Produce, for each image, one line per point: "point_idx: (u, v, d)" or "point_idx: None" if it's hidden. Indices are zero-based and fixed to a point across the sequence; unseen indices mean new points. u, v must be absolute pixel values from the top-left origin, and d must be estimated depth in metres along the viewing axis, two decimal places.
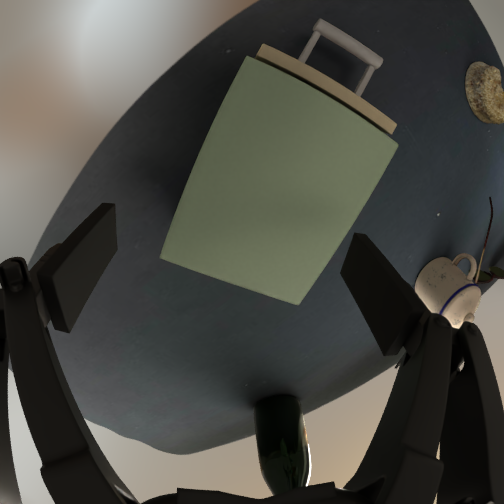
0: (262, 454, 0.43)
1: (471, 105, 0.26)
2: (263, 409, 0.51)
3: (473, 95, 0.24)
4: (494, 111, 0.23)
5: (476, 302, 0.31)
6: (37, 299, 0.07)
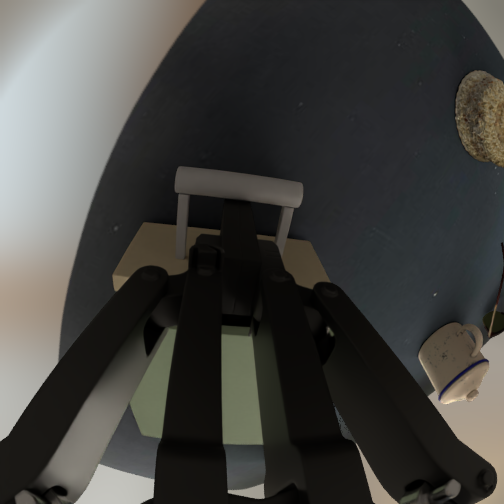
0: None
1: (468, 149, 0.20)
2: None
3: (470, 135, 0.18)
4: (501, 154, 0.17)
5: (482, 376, 0.25)
6: None
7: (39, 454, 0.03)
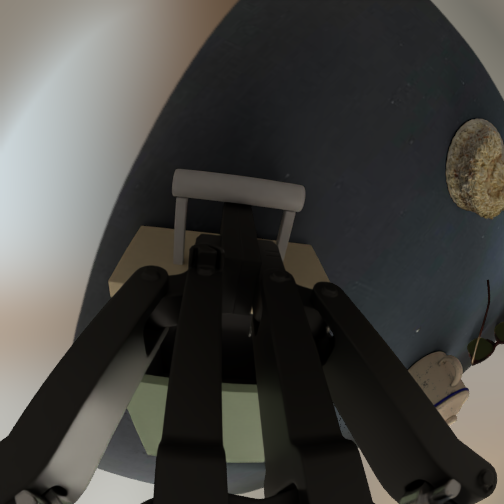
0: None
1: (456, 201, 0.22)
2: None
3: (459, 190, 0.20)
4: (490, 208, 0.19)
5: (461, 403, 0.27)
6: None
7: (39, 454, 0.03)
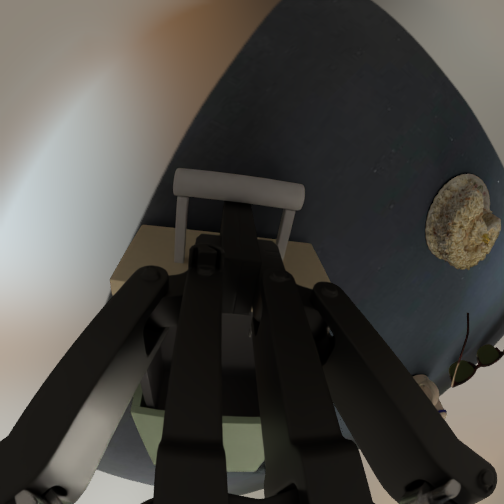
0: None
1: (435, 253, 0.25)
2: None
3: (437, 245, 0.23)
4: (466, 262, 0.22)
5: None
6: None
7: (39, 454, 0.03)
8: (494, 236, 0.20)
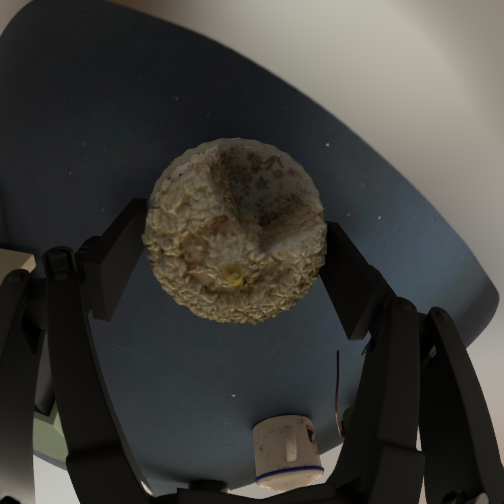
0: None
1: None
2: None
3: None
4: (227, 314, 0.14)
5: (303, 480, 0.25)
6: (81, 290, 0.08)
7: None
8: (299, 265, 0.13)
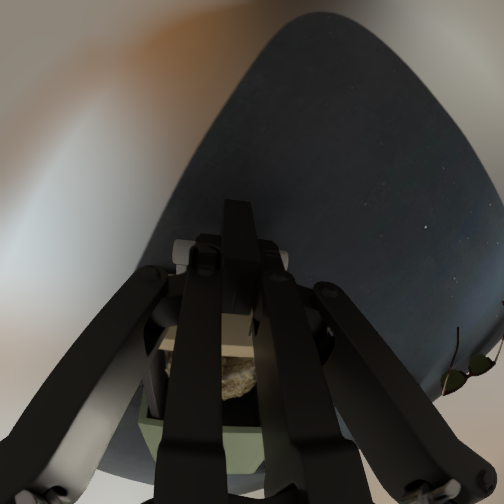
0: None
1: None
2: None
3: None
4: None
5: None
6: None
7: (39, 454, 0.03)
8: (242, 383, 0.24)
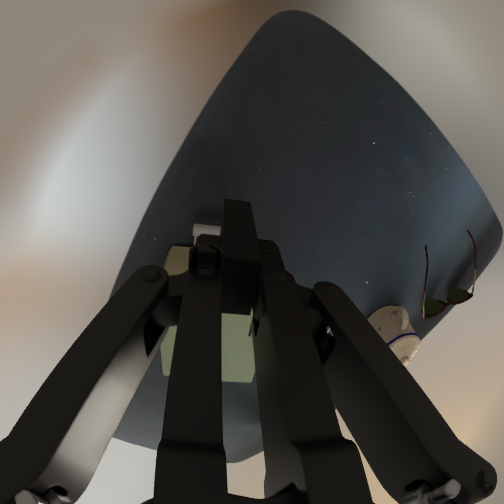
0: None
1: None
2: None
3: None
4: None
5: (412, 346, 0.42)
6: None
7: (39, 454, 0.03)
8: None
